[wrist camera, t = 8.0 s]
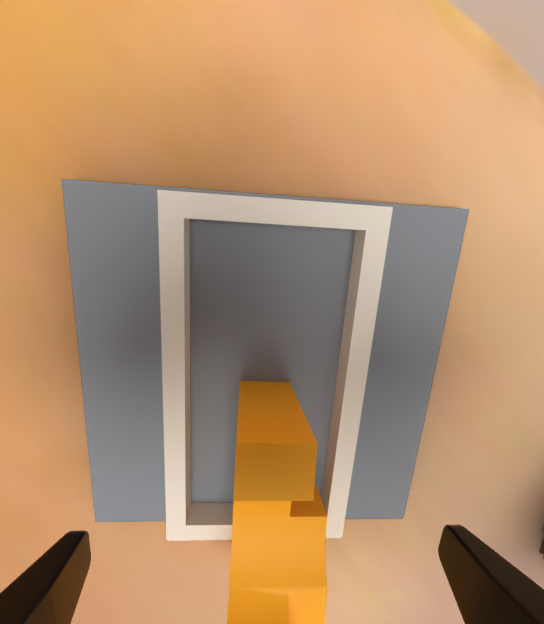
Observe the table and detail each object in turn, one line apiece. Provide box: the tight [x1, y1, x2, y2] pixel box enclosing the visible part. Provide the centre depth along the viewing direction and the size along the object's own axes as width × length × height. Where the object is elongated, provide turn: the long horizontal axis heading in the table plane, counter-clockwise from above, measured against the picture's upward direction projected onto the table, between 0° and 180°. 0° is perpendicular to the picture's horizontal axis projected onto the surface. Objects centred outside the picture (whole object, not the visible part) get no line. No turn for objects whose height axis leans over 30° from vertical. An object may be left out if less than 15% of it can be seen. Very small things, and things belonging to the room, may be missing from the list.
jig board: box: [62, 179, 469, 541], centre depth 16 cm, size 18×18×2 cm
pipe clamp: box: [227, 381, 327, 624], centre depth 14 cm, size 12×4×6 cm, turn 176°
